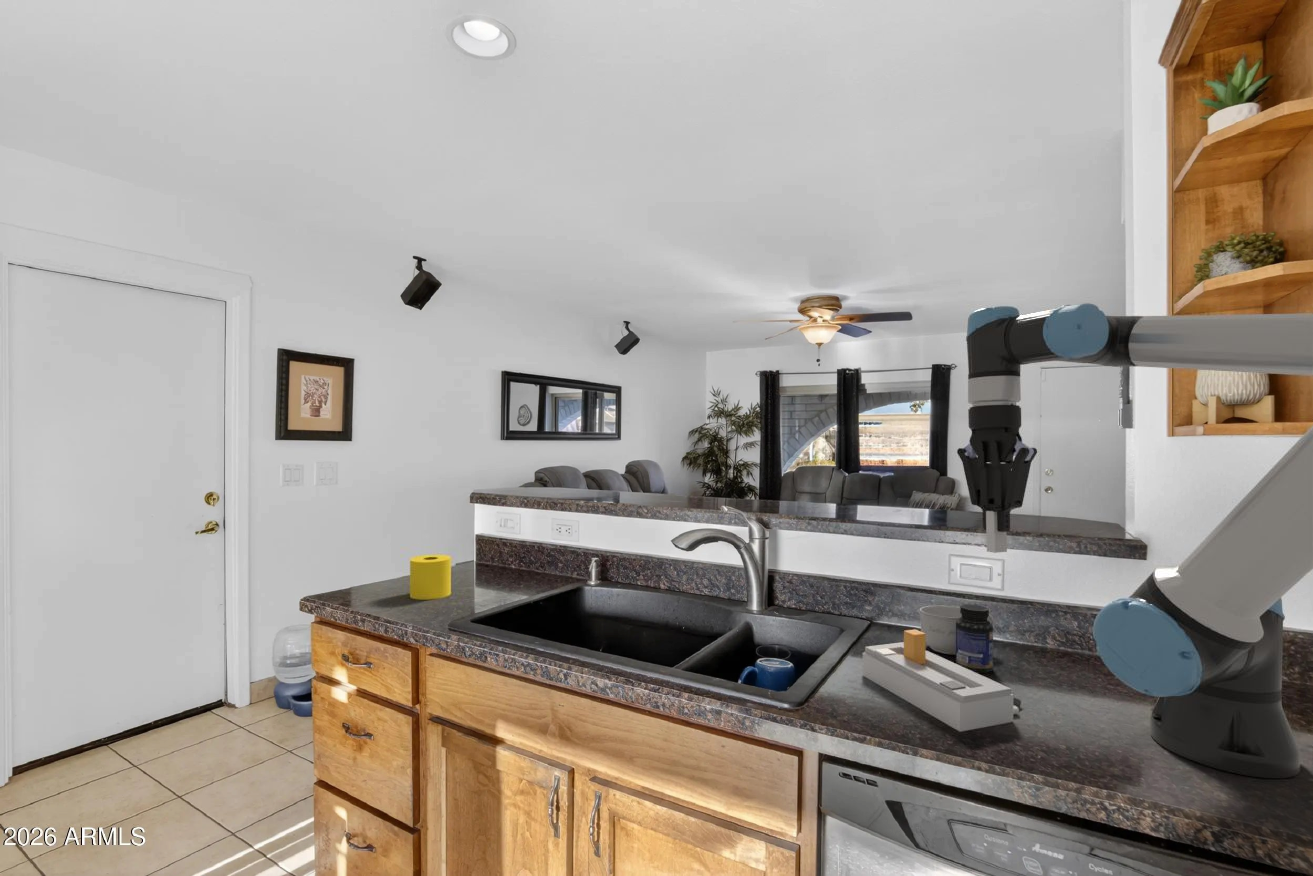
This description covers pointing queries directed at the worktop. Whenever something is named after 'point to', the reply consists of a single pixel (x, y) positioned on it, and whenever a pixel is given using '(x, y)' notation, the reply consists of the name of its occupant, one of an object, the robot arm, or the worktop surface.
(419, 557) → the yellow toilet paper roll
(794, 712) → the worktop surface
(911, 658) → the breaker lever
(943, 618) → the teacup
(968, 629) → the pill bottle
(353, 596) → the worktop surface
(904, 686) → the slider switch box
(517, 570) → the worktop surface
